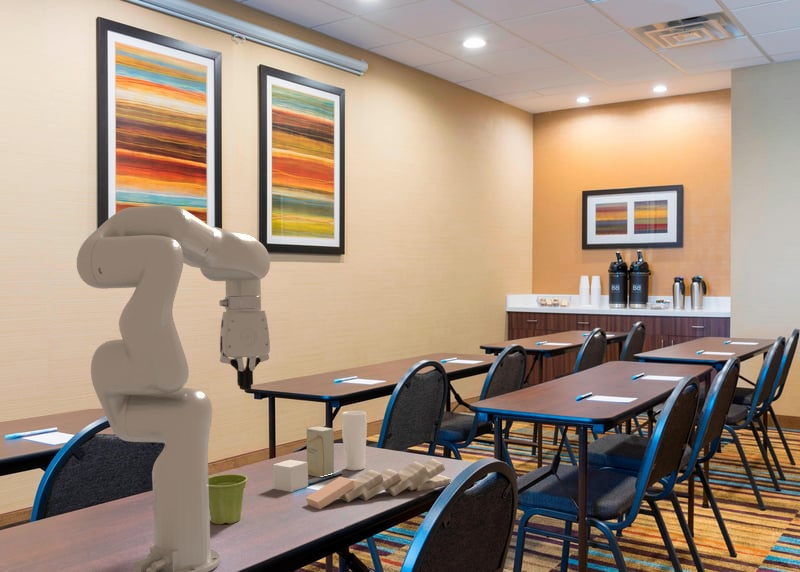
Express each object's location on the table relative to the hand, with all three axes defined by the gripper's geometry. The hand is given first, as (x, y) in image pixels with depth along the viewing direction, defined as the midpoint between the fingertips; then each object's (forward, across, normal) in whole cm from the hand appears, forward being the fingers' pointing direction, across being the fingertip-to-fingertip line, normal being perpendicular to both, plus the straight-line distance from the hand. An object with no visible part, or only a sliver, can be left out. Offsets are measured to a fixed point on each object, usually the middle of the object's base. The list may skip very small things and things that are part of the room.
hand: (245, 388), depth 165 cm
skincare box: (+27, +27, +22) cm, 44 cm away
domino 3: (+26, +26, -3) cm, 37 cm away
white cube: (+27, +16, +15) cm, 35 cm away
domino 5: (+25, +37, -4) cm, 45 cm away
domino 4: (+26, +32, -4) cm, 42 cm away
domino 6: (+26, +39, -3) cm, 47 cm away
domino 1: (+26, +14, -4) cm, 30 cm away
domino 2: (+26, +21, -3) cm, 33 cm away
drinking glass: (+26, +37, +23) cm, 51 cm away
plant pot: (+28, -5, -2) cm, 28 cm away
